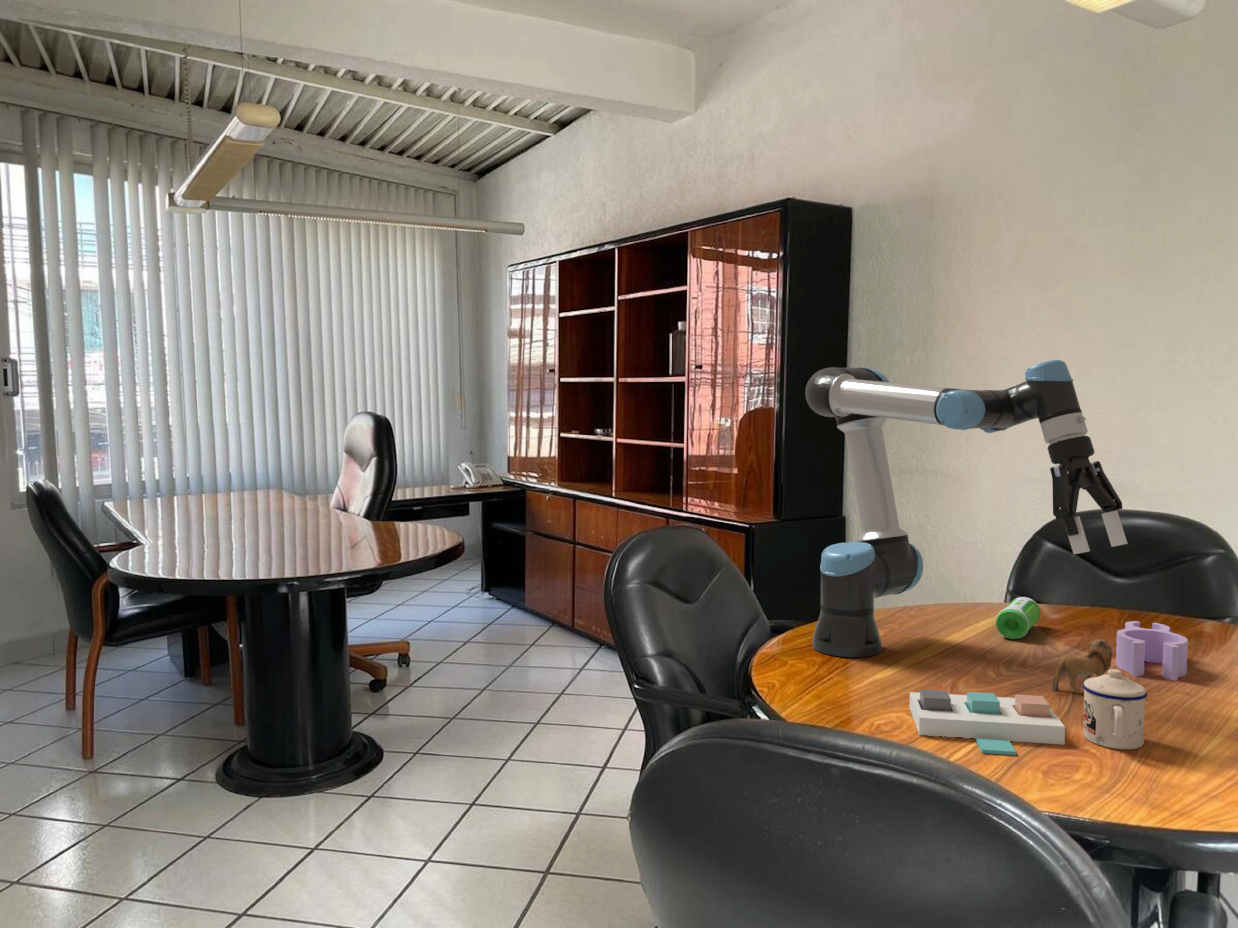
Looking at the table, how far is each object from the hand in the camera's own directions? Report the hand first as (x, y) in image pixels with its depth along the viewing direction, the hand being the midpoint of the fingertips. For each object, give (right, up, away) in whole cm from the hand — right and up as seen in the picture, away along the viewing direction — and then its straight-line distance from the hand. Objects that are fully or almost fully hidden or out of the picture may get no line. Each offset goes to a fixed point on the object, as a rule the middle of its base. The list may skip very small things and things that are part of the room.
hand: (1101, 549), depth 161 cm
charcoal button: (-35, -27, -11) cm, 46 cm away
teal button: (-27, -27, -12) cm, 41 cm away
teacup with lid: (-9, -30, -20) cm, 37 cm away
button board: (-27, -29, -12) cm, 42 cm away
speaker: (+6, -25, +47) cm, 54 cm away
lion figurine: (0, -28, +7) cm, 28 cm away
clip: (+22, -27, +21) cm, 40 cm away
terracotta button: (-20, -27, -14) cm, 36 cm away
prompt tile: (-29, -30, -22) cm, 47 cm away
